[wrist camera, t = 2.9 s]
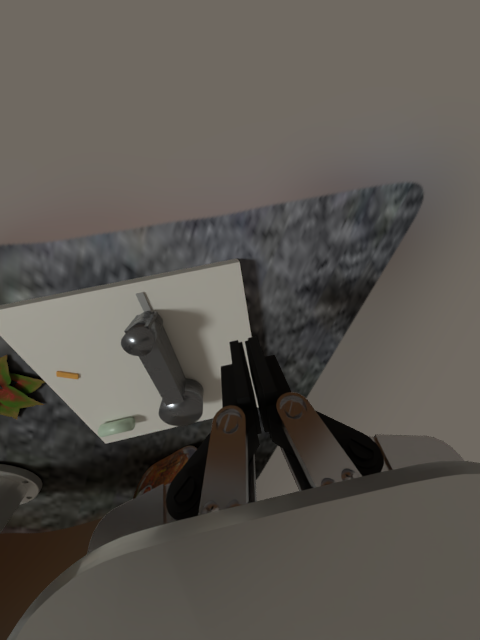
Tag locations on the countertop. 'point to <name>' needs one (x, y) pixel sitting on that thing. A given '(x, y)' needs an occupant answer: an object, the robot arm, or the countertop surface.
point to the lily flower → (15, 391)
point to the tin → (164, 470)
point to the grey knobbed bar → (164, 370)
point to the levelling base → (110, 358)
